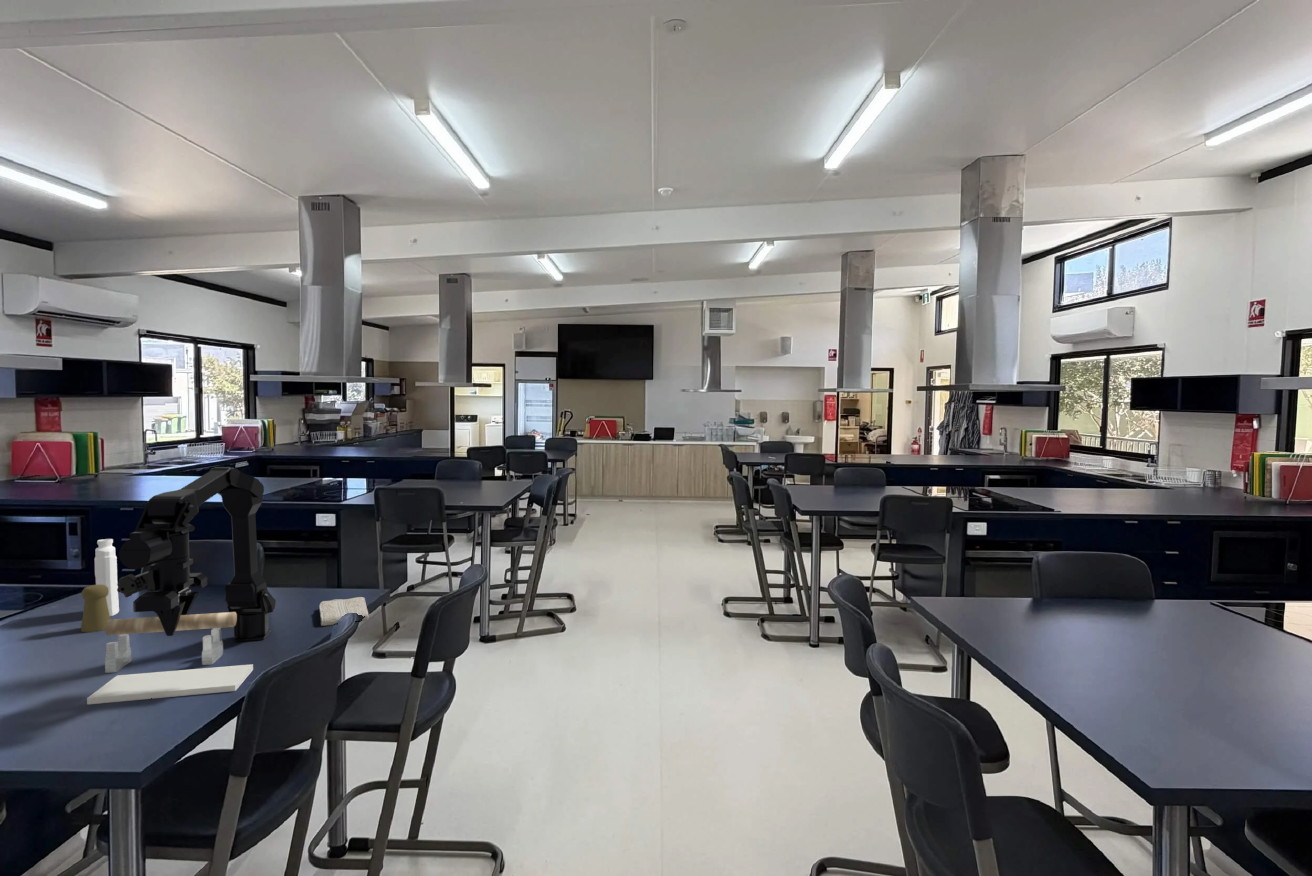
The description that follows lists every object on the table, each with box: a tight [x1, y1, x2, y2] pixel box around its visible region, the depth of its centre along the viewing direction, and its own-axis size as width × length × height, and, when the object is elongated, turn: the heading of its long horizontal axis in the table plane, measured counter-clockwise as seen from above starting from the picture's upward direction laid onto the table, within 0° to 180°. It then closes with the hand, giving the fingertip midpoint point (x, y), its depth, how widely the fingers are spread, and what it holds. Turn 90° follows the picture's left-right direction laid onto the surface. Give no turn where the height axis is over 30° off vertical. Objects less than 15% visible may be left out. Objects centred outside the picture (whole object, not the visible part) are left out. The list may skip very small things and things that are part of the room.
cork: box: [80, 584, 112, 633], centre depth 168 cm, size 6×6×11 cm
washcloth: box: [318, 596, 370, 627], centre depth 182 cm, size 12×18×3 cm, turn 29°
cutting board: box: [86, 663, 254, 705], centre depth 135 cm, size 25×11×1 cm, turn 105°
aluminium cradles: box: [104, 628, 224, 674], centre depth 146 cm, size 20×6×6 cm, turn 105°
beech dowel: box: [104, 611, 237, 636], centre depth 134 cm, size 22×3×3 cm, turn 105°
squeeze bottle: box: [94, 538, 120, 617], centre depth 180 cm, size 10×20×5 cm
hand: (173, 632), depth 134 cm, fingers closed on beech dowel, 3 cm apart
